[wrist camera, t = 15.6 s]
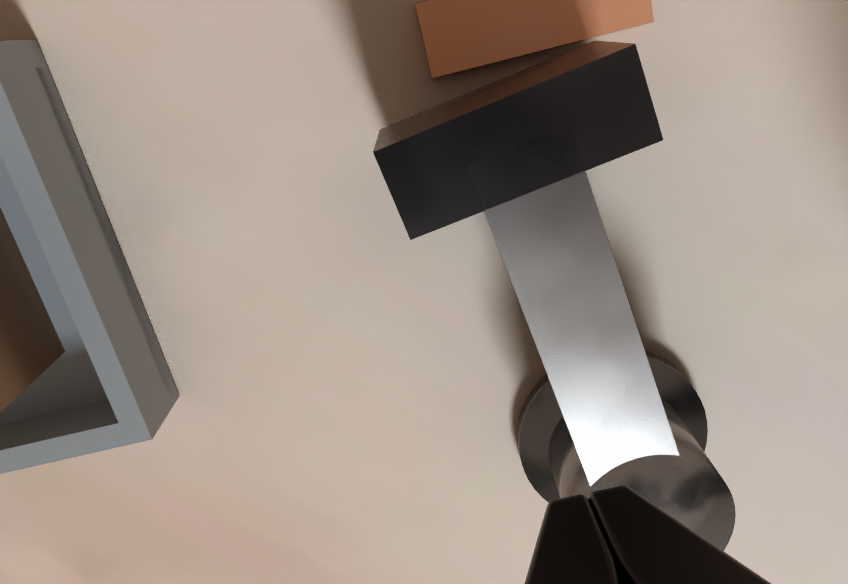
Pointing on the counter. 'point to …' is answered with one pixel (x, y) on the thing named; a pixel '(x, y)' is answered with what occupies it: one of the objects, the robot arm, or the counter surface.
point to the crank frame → (510, 37)
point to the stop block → (21, 323)
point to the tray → (71, 286)
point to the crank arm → (564, 261)
